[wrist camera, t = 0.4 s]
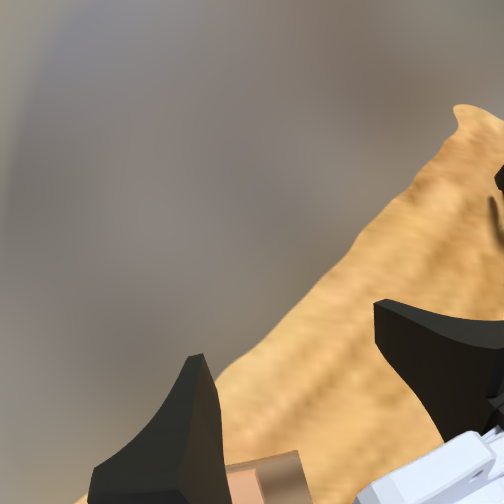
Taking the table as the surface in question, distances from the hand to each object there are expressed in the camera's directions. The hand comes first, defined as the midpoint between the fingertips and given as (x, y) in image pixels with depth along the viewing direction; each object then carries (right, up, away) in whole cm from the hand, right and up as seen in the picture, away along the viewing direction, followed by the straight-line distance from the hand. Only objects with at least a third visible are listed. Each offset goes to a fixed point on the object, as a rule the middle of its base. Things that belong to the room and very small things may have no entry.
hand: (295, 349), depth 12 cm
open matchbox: (-1, -24, +19) cm, 31 cm away
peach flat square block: (-3, -23, +17) cm, 29 cm away
